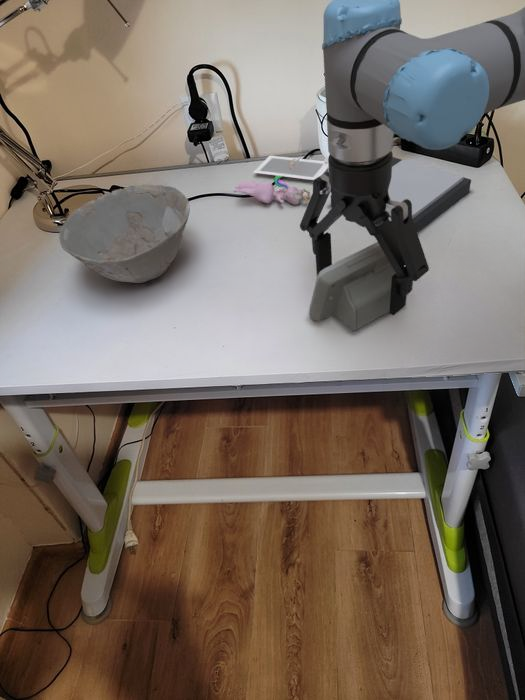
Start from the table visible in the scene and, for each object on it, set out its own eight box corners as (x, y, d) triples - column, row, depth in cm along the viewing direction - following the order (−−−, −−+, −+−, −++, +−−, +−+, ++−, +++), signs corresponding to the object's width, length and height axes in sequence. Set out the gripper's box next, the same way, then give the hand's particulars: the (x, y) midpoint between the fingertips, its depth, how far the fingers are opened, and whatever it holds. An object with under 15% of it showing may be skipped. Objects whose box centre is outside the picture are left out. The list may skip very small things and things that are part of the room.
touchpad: (317, 185, 103) (317, 175, 102) (253, 177, 109) (252, 167, 108) (332, 167, 108) (332, 157, 106) (270, 160, 114) (269, 150, 112)
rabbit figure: (310, 199, 102) (238, 189, 104) (313, 171, 98) (237, 161, 100) (305, 216, 98) (230, 205, 100) (307, 188, 94) (229, 177, 96)
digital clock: (394, 273, 81) (397, 214, 73) (425, 306, 74) (432, 246, 67) (299, 305, 78) (293, 248, 71) (323, 342, 72) (319, 284, 65)
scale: (469, 191, 94) (472, 175, 91) (410, 238, 86) (412, 221, 84) (389, 167, 104) (389, 152, 102) (331, 206, 97) (330, 191, 94)
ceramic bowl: (91, 326, 82) (66, 277, 75) (75, 254, 98) (53, 208, 90) (220, 280, 86) (207, 230, 78) (184, 218, 101) (171, 171, 94)
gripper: (264, 140, 65) (281, 271, 80) (434, 197, 51) (416, 342, 66) (304, 117, 68) (313, 248, 83) (475, 165, 54) (448, 311, 69)
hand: (359, 290), depth 75 cm, fingers open, 13 cm apart
